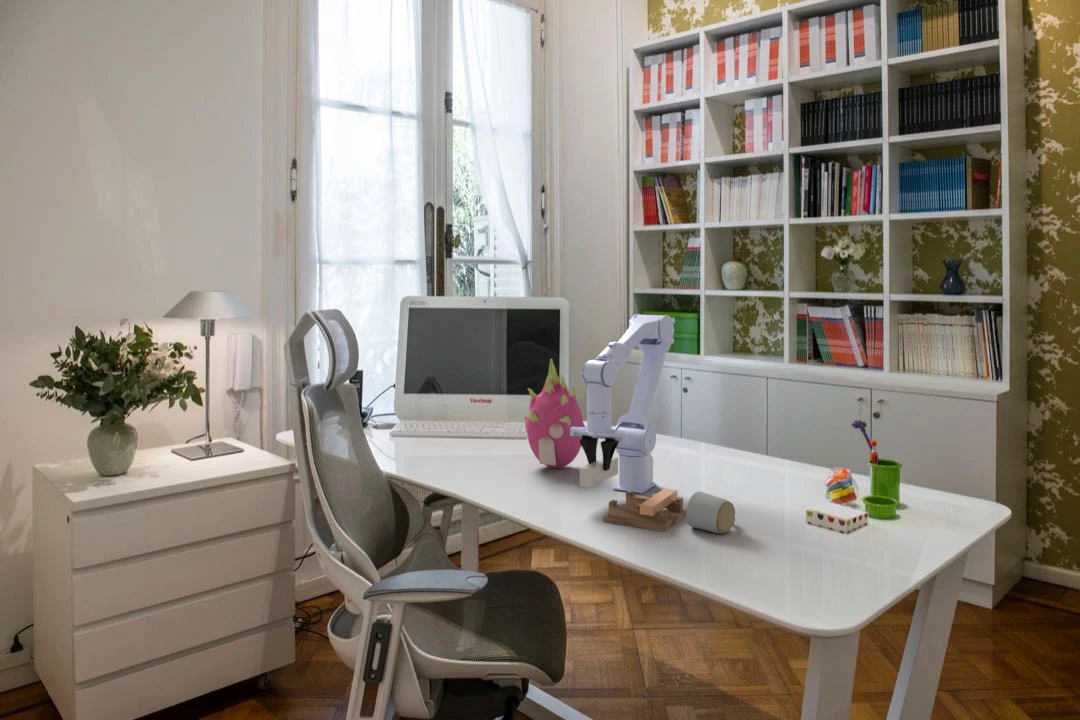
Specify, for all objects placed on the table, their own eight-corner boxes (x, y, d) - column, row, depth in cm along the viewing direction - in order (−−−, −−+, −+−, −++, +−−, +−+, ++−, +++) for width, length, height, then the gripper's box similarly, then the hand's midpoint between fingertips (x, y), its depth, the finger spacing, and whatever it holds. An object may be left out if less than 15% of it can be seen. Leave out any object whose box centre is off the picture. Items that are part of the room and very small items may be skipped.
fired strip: (664, 497, 184) (664, 488, 184) (677, 498, 183) (677, 490, 183) (639, 513, 172) (639, 504, 172) (652, 516, 171) (652, 506, 171)
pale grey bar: (606, 472, 197) (606, 456, 196) (618, 473, 195) (618, 457, 195) (579, 485, 185) (579, 468, 185) (591, 487, 183) (591, 469, 183)
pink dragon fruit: (516, 471, 220) (514, 361, 216) (532, 460, 232) (531, 356, 229) (579, 476, 214) (579, 363, 210) (593, 464, 227) (592, 357, 223)
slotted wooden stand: (630, 504, 189) (630, 487, 189) (687, 513, 182) (687, 496, 181) (603, 521, 177) (603, 503, 177) (663, 531, 170) (663, 513, 170)
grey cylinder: (719, 539, 165) (720, 502, 164) (684, 530, 171) (685, 494, 170) (744, 527, 173) (745, 492, 172) (710, 519, 178) (711, 485, 178)
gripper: (563, 411, 189) (564, 469, 190) (620, 417, 181) (620, 476, 183) (577, 406, 195) (578, 462, 196) (633, 412, 187) (633, 469, 189)
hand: (599, 468), depth 190 cm, fingers closed on pale grey bar, 3 cm apart
